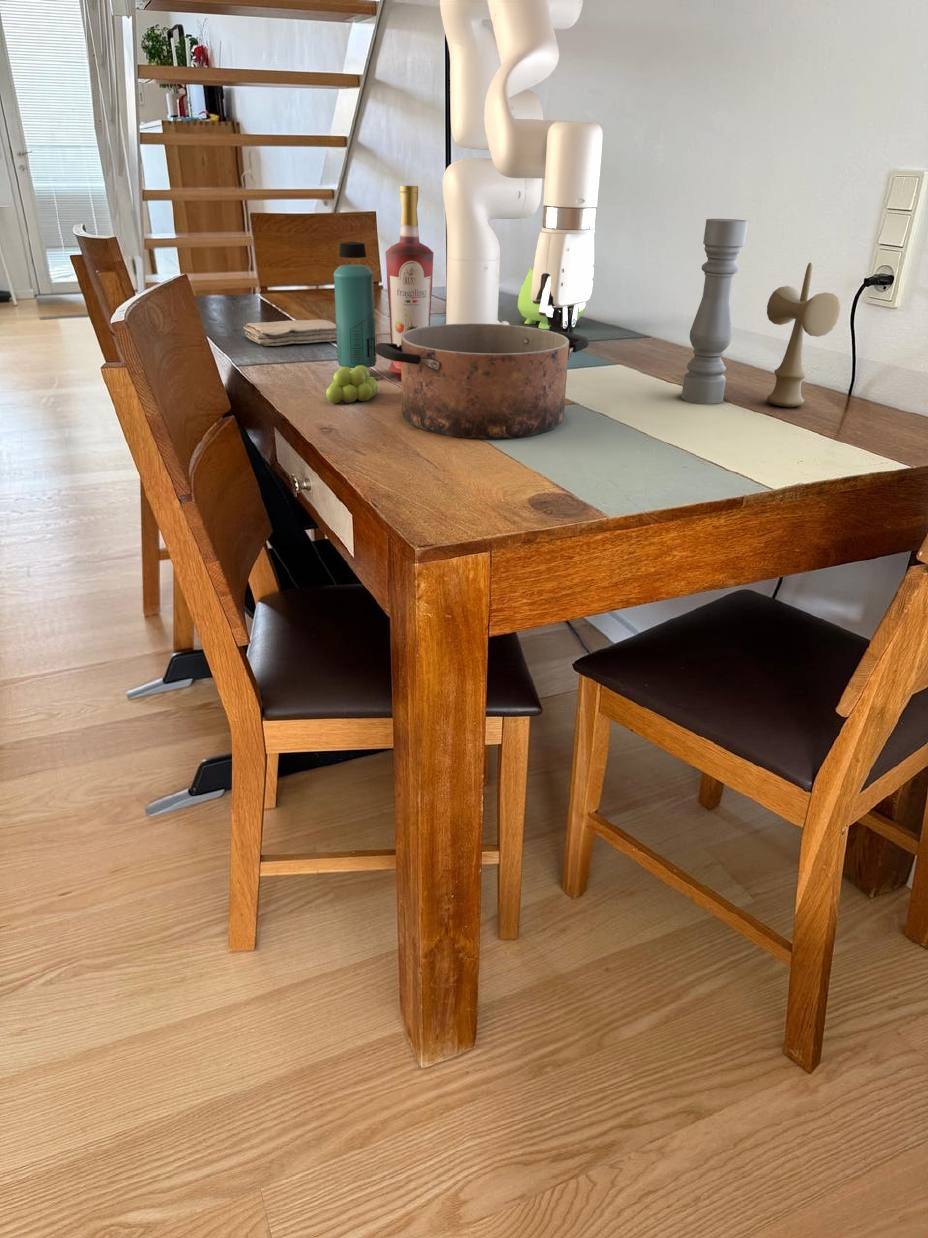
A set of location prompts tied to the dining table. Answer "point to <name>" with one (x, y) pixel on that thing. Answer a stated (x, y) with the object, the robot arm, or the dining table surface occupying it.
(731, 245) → the candle holder
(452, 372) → the cooking pot
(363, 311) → the beverage bottle
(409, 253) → the liquor
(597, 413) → the dining table surface
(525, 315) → the teapot
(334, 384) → the grapes
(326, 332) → the washcloth
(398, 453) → the dining table surface
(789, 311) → the kendama
